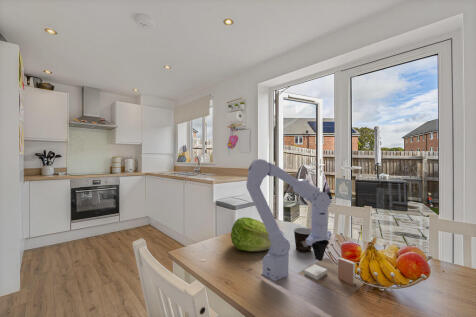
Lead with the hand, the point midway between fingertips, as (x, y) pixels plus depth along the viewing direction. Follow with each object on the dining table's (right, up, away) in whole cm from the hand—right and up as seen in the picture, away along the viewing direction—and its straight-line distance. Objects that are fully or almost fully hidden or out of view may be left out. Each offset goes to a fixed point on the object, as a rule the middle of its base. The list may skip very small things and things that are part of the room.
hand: (318, 259), depth 80 cm
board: (+5, -6, -1) cm, 8 cm away
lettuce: (-21, -6, +23) cm, 32 cm away
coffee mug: (+2, -6, +19) cm, 20 cm away
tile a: (+1, -4, +1) cm, 4 cm away
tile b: (+8, -5, -5) cm, 10 cm away
